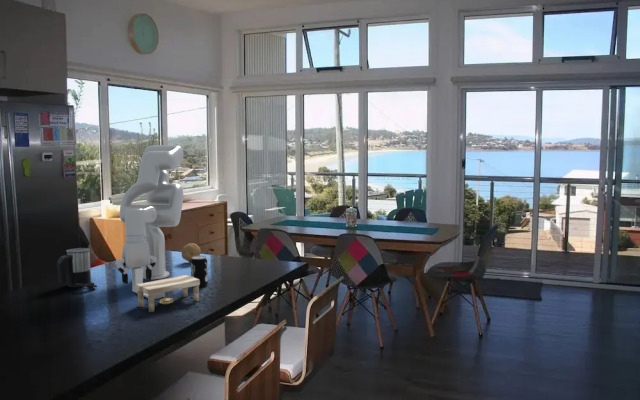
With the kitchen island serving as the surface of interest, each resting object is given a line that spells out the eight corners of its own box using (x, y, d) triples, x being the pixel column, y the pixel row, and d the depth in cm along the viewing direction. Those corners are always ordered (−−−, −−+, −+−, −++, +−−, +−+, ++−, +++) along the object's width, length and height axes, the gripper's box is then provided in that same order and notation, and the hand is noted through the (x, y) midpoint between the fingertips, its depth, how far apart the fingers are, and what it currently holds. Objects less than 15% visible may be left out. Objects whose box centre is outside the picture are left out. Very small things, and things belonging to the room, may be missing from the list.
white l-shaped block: (128, 290, 215) (128, 268, 214) (143, 287, 219) (142, 265, 218) (150, 300, 202) (149, 276, 201) (165, 296, 206) (164, 273, 205)
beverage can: (203, 288, 218) (203, 259, 217) (188, 287, 219) (188, 258, 218) (210, 284, 224) (209, 255, 223) (195, 283, 226) (194, 255, 224)
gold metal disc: (156, 303, 199) (156, 299, 199) (169, 300, 203) (169, 297, 203) (163, 305, 196) (163, 302, 196) (176, 303, 199) (175, 299, 199)
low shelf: (137, 306, 194) (136, 284, 194) (186, 295, 208) (185, 274, 208) (150, 312, 187) (149, 289, 186) (200, 300, 201) (199, 279, 200)
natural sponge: (192, 266, 256) (192, 245, 255) (177, 264, 260) (177, 244, 259) (204, 262, 264) (203, 242, 263) (189, 260, 268) (189, 240, 267)
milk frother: (77, 281, 229) (75, 247, 227) (110, 283, 225) (109, 248, 224) (54, 290, 215) (52, 254, 213) (89, 292, 211) (87, 255, 210)
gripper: (151, 235, 222) (152, 276, 224) (110, 240, 210) (111, 283, 212) (160, 237, 217) (161, 279, 218) (118, 242, 205) (120, 286, 206)
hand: (137, 281), depth 215 cm, fingers open, 9 cm apart
